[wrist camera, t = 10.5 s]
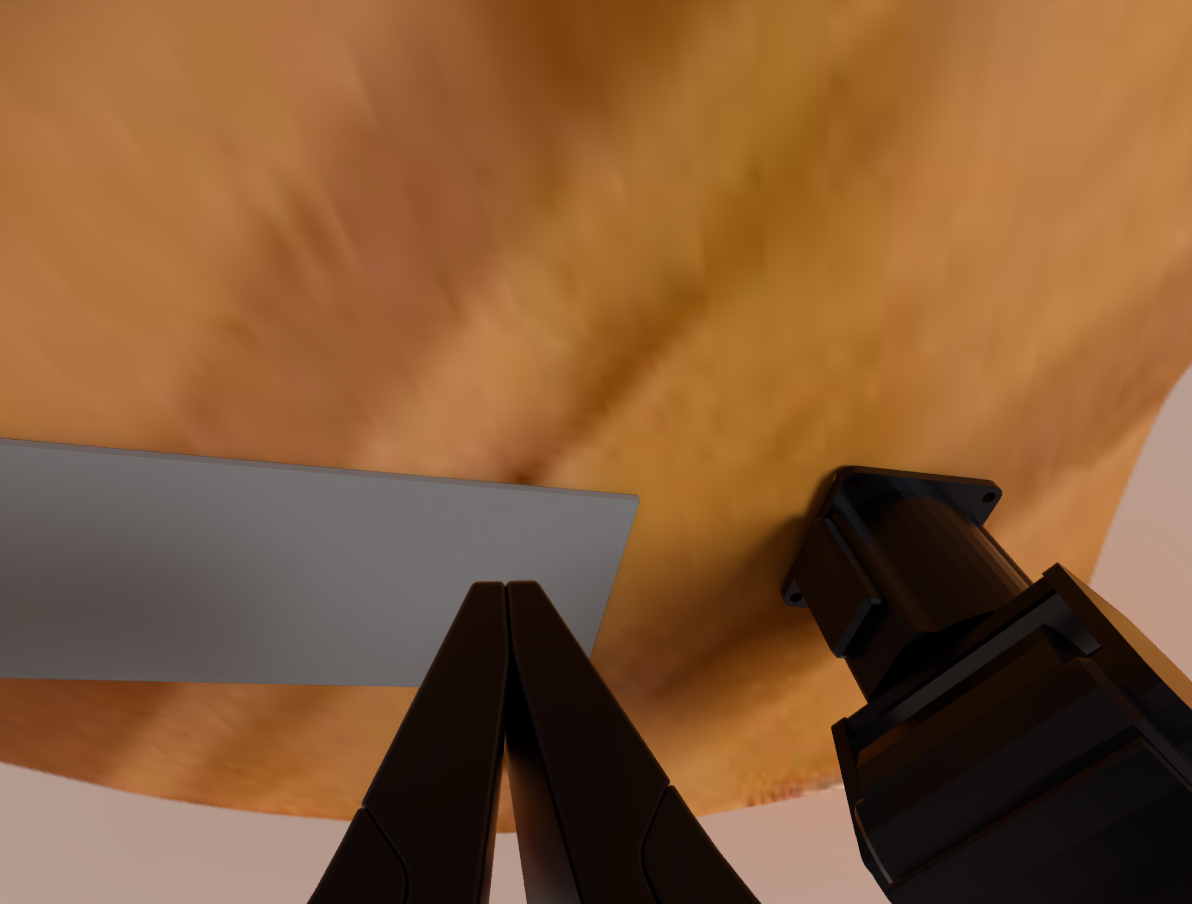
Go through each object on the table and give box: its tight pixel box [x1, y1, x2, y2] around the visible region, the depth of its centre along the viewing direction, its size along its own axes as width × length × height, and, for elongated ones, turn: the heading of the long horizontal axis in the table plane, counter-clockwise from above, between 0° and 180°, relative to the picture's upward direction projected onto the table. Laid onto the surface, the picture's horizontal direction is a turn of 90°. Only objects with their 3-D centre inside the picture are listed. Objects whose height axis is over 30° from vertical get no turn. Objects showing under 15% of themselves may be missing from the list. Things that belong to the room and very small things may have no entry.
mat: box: [0, 438, 640, 687], centre depth 24 cm, size 28×10×1 cm, turn 78°
